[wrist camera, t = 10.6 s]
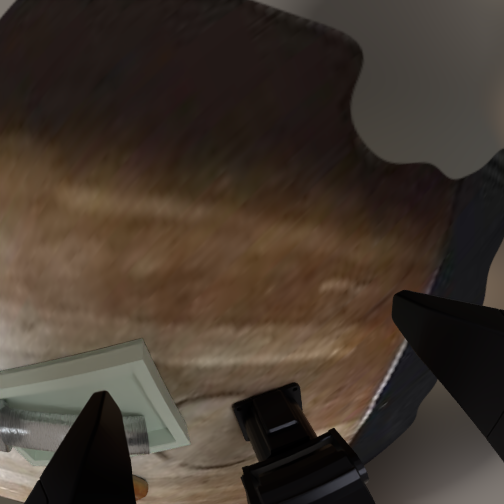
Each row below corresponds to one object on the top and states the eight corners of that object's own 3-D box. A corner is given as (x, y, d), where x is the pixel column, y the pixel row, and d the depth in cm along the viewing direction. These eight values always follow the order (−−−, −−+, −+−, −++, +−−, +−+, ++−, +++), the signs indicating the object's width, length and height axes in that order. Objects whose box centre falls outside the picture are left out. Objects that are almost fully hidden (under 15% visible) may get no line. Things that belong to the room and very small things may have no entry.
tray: (186, 424, 26) (190, 444, 24) (36, 448, 22) (33, 466, 20) (142, 338, 22) (142, 359, 19) (-26, 375, 18) (-34, 393, 16)
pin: (153, 471, 20) (-4, 460, 14) (145, 443, 24) (8, 435, 18) (147, 424, 20) (-19, 410, 14) (141, 400, 25) (-2, 390, 19)
